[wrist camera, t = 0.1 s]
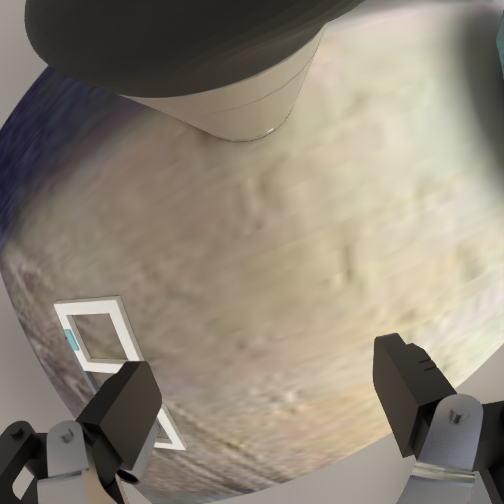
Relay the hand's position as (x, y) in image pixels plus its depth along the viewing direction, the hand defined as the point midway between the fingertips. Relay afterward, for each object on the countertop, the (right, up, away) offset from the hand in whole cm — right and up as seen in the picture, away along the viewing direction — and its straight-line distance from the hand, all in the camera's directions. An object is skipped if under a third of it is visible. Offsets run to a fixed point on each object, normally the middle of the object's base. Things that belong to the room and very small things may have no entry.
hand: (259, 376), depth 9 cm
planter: (-16, -21, +26) cm, 37 cm away
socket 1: (-18, -6, +21) cm, 29 cm away
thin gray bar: (-22, -14, +24) cm, 36 cm away
